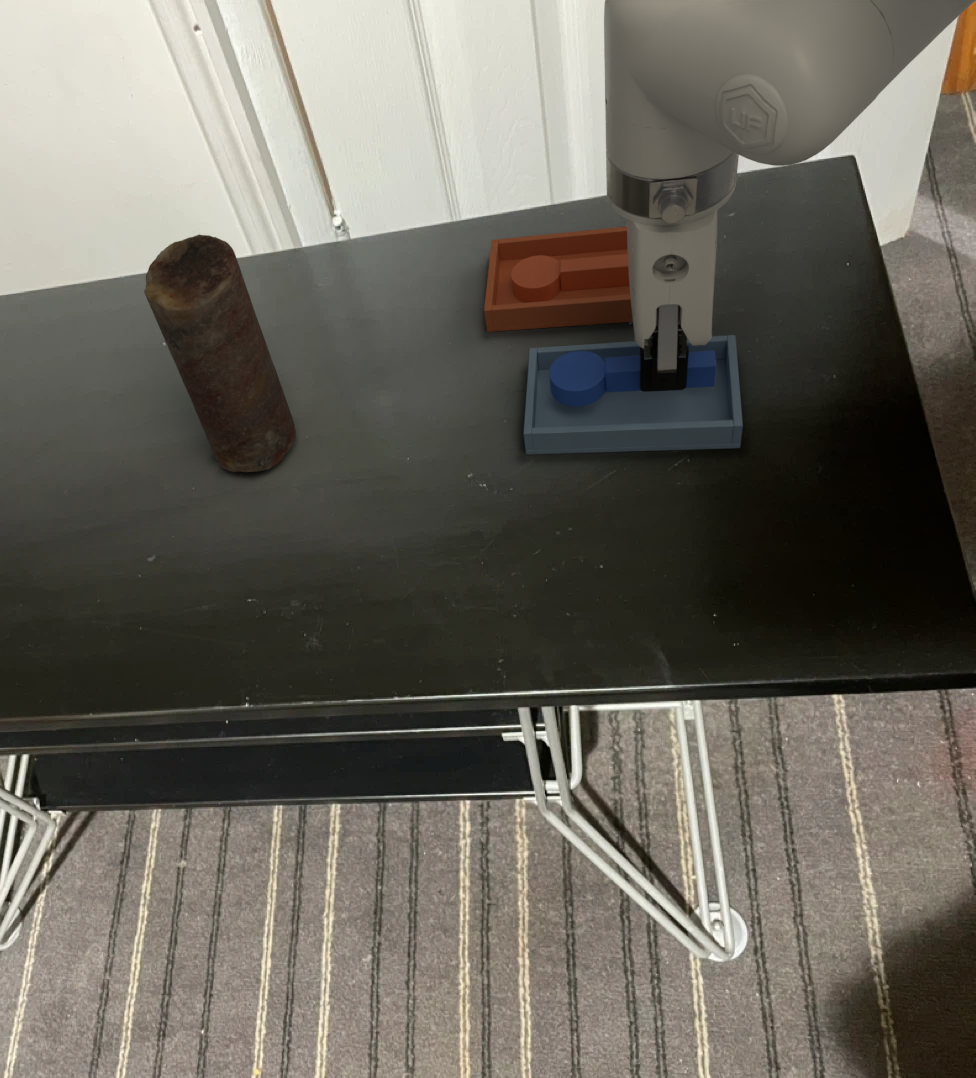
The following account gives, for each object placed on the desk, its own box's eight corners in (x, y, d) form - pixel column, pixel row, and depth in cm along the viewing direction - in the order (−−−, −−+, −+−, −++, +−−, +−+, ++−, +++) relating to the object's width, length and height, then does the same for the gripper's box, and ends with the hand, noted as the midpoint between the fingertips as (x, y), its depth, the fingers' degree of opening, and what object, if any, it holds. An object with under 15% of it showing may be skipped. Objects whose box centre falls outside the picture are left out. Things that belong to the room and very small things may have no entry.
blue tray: (733, 358, 81) (735, 334, 79) (740, 448, 76) (742, 425, 74) (531, 369, 86) (529, 347, 84) (526, 454, 81) (523, 433, 79)
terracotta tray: (673, 245, 90) (674, 221, 88) (676, 318, 85) (677, 295, 83) (494, 261, 95) (491, 239, 93) (487, 332, 90) (483, 310, 88)
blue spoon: (712, 358, 78) (714, 337, 76) (715, 400, 76) (717, 378, 74) (551, 368, 82) (549, 348, 80) (549, 408, 80) (547, 388, 78)
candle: (313, 419, 89) (247, 232, 74) (287, 485, 86) (212, 303, 71) (234, 414, 93) (155, 234, 77) (206, 478, 89) (117, 302, 74)
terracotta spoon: (654, 261, 88) (655, 240, 87) (655, 294, 86) (655, 273, 84) (514, 273, 92) (512, 253, 91) (511, 305, 90) (509, 286, 88)
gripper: (746, 245, 58) (722, 456, 72) (730, 84, 66) (712, 300, 81) (604, 258, 60) (608, 459, 75) (607, 101, 69) (610, 308, 83)
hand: (662, 375), depth 77 cm, fingers closed on blue spoon
